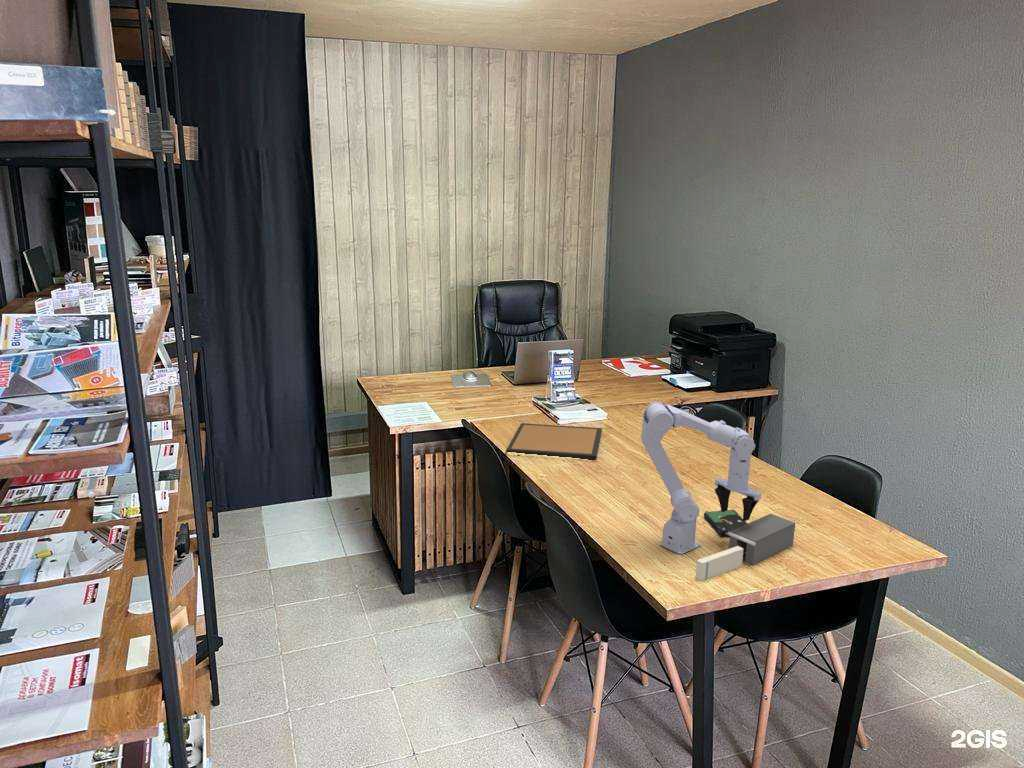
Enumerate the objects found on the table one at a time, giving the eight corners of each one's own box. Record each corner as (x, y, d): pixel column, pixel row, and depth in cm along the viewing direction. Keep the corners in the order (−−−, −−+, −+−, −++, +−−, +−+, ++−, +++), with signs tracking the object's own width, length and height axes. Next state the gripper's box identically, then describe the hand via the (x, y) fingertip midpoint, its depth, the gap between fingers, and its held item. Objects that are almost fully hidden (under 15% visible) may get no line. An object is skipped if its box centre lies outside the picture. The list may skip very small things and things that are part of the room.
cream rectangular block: (700, 581, 200) (702, 563, 199) (695, 578, 202) (696, 560, 201) (741, 566, 209) (743, 548, 207) (736, 563, 210) (737, 545, 209)
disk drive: (753, 538, 227) (733, 517, 241) (754, 529, 226) (734, 509, 241) (720, 539, 226) (702, 518, 240) (721, 531, 225) (703, 510, 239)
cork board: (506, 456, 295) (596, 462, 289) (506, 449, 294) (596, 455, 288) (521, 429, 329) (601, 434, 323) (521, 423, 328) (602, 428, 322)
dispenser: (751, 566, 209) (753, 542, 207) (725, 554, 215) (727, 531, 213) (793, 545, 221) (796, 523, 219) (767, 535, 228) (770, 513, 226)
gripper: (769, 476, 212) (764, 520, 216) (726, 461, 223) (722, 503, 227) (754, 481, 208) (750, 526, 212) (711, 466, 219) (708, 509, 223)
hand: (735, 515), depth 219 cm, fingers open, 7 cm apart
